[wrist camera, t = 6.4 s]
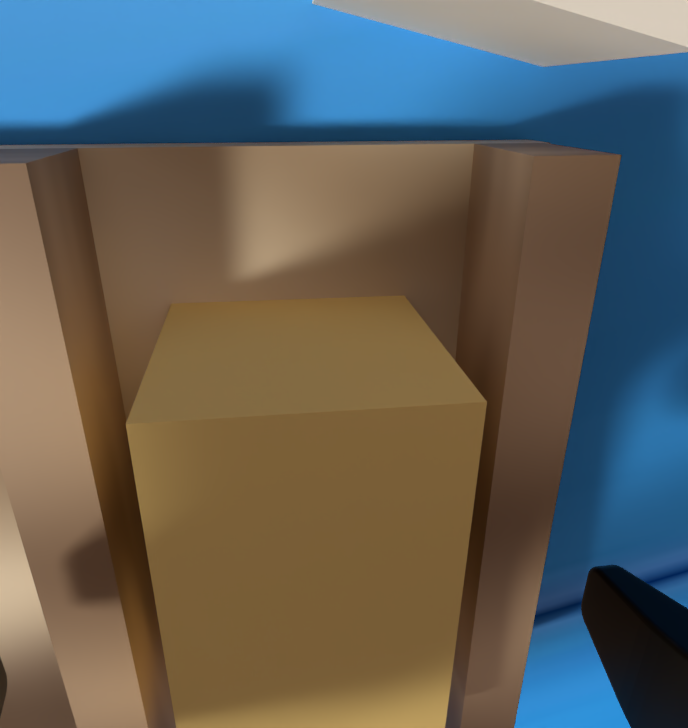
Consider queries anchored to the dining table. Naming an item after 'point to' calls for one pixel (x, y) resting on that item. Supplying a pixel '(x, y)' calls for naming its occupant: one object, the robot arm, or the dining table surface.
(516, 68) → the dining table surface
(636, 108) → the dining table surface
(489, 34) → the cream bar
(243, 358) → the ochre bar
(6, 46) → the dining table surface
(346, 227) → the comb board
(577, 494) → the dining table surface
